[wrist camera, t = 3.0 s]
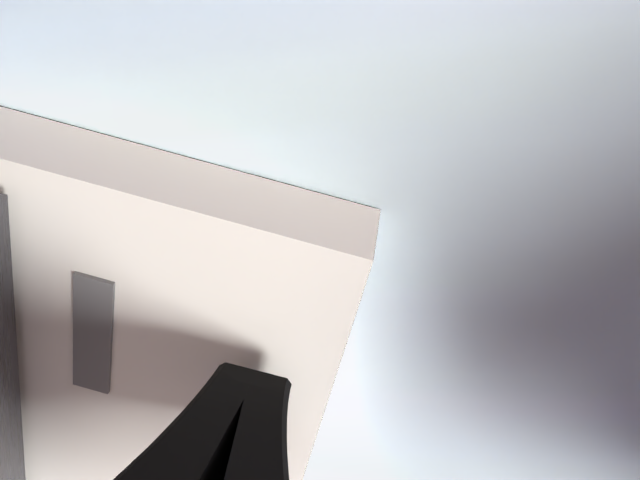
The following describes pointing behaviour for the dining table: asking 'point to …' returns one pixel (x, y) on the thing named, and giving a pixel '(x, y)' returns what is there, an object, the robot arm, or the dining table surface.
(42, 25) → the dining table surface
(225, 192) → the cover plate
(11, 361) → the latch handle
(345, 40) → the dining table surface
